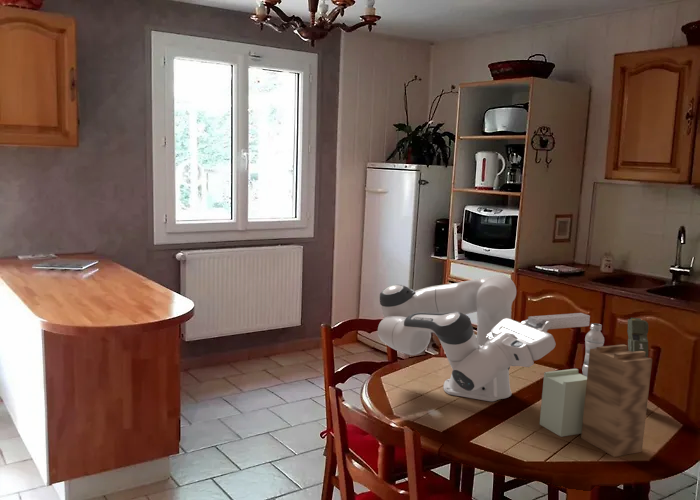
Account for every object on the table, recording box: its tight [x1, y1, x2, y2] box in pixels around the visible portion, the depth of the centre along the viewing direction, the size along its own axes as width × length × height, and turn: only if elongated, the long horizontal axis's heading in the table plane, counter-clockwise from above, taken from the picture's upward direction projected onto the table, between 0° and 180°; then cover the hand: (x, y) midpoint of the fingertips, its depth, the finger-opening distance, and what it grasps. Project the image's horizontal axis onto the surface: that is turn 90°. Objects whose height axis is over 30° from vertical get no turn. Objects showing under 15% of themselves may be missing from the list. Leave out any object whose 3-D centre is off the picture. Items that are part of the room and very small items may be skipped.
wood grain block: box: [580, 343, 653, 458], centre depth 172 cm, size 10×12×27 cm
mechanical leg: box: [626, 317, 649, 358], centre depth 202 cm, size 14×7×30 cm, turn 169°
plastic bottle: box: [581, 322, 605, 377], centre depth 230 cm, size 6×7×20 cm
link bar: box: [527, 312, 591, 330], centre depth 176 cm, size 19×4×3 cm, turn 113°
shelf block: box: [539, 368, 587, 437], centre depth 183 cm, size 12×9×16 cm
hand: (543, 321), depth 174 cm, fingers closed on link bar, 3 cm apart
